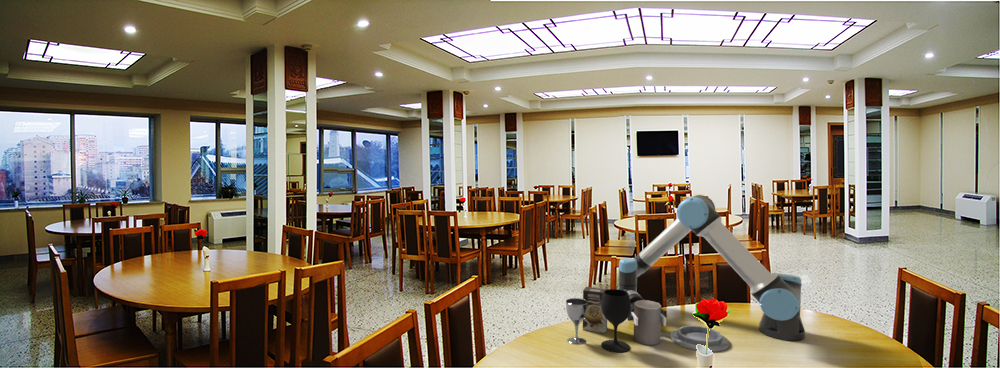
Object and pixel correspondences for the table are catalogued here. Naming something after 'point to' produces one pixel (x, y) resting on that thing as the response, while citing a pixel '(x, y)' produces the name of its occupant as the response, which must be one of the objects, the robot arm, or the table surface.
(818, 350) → the table surface
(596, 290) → the coffee box
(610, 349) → the wine glass
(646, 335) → the pillar candle
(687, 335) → the candle plate
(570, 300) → the wine glass
